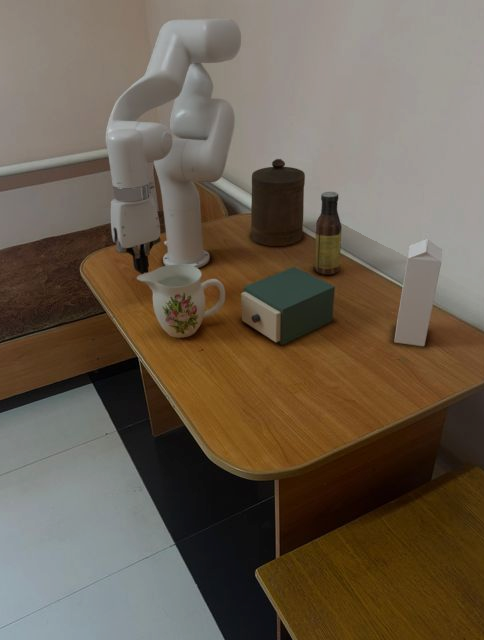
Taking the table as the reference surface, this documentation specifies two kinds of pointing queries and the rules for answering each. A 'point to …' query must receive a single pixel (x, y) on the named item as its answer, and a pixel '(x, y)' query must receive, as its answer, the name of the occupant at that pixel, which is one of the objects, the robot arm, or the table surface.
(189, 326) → the pitcher
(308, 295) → the cabinet
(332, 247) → the sauce bottle
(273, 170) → the wooden container
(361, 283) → the table surface
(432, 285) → the milk
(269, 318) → the drawer
